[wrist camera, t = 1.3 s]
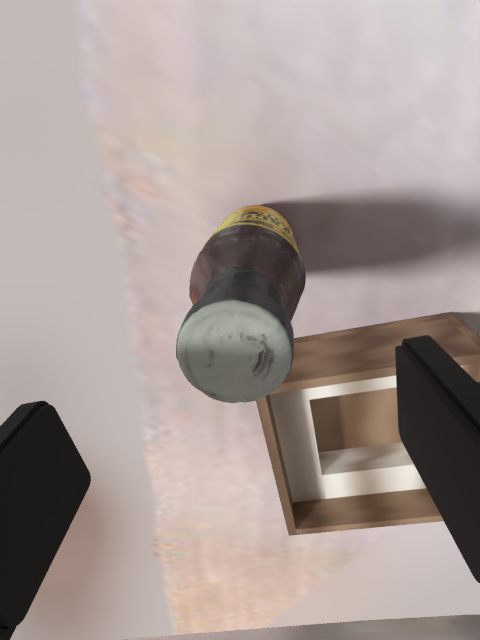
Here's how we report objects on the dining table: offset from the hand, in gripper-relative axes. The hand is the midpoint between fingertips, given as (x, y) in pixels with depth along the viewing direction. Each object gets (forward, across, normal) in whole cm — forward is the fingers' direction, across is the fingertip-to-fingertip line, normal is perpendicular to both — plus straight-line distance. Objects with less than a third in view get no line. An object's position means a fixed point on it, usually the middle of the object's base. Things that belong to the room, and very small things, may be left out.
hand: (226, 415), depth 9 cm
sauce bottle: (+23, -1, 0) cm, 23 cm away
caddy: (+22, -8, +19) cm, 30 cm away
